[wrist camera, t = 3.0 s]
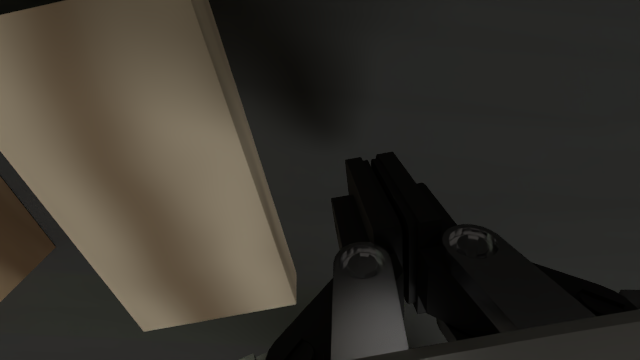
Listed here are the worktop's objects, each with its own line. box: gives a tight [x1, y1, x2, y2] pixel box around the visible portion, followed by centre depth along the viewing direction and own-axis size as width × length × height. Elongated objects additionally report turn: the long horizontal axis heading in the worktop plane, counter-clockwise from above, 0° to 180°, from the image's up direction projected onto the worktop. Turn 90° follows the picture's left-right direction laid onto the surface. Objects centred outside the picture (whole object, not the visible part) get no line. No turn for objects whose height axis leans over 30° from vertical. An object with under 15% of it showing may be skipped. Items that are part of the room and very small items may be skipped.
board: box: [0, 0, 296, 332], centre depth 13 cm, size 8×14×2 cm, turn 11°
